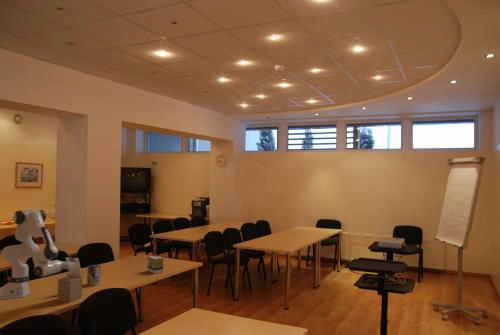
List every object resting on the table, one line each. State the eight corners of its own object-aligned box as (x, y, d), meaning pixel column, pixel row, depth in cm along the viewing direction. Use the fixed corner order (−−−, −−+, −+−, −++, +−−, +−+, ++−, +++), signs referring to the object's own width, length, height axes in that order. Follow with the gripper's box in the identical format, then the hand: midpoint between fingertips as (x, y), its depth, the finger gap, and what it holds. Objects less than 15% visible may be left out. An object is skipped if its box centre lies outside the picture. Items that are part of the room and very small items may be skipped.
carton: (69, 302, 284) (70, 280, 285) (57, 301, 287) (58, 279, 288) (81, 297, 296) (81, 276, 296) (69, 296, 299) (69, 275, 299)
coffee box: (100, 284, 335) (100, 265, 335) (95, 286, 329) (95, 267, 329) (92, 282, 338) (92, 264, 338) (86, 284, 332) (87, 266, 333)
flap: (77, 258, 292) (78, 258, 293) (65, 257, 295) (66, 257, 296) (81, 276, 296) (82, 276, 297) (69, 275, 299) (70, 275, 300)
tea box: (146, 271, 384) (147, 256, 385) (156, 269, 391) (156, 255, 391) (154, 274, 373) (154, 258, 373) (163, 272, 380) (163, 257, 380)
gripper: (67, 263, 275) (80, 259, 288) (44, 261, 280) (58, 257, 294) (67, 271, 275) (80, 267, 288) (43, 269, 280) (57, 265, 293)
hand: (69, 262), depth 291 cm, fingers closed
